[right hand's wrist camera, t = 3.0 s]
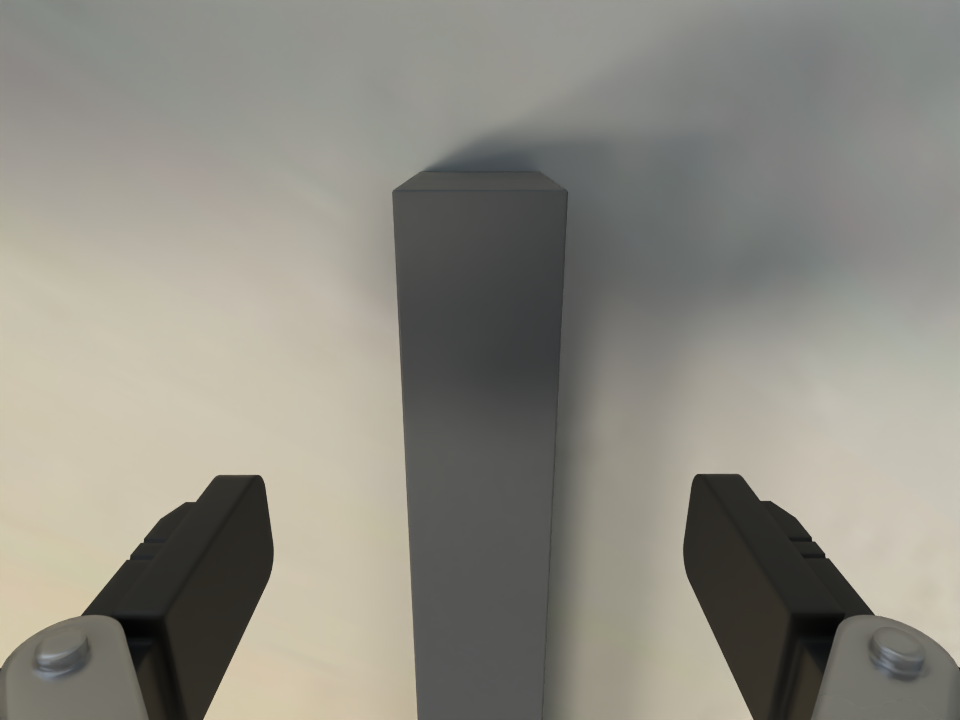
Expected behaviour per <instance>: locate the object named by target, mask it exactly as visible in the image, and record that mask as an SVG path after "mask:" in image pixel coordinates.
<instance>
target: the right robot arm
mask: <svg viewBox="0 0 960 720" xmlns="http://www.w3.org/2000/svg"><path fill="white" fill-rule="evenodd" d="M273 556H274V548H273V539H272V532H271V525H270V518H269V510H268V503H267V496H266V489H265V484H264V481H263V479H262V477H261V476H260V475H218V476H216V477H215V478H214V479H213V480H212V482H211V483H210V484H209V486H208V487H207V488H206V489H205V491H204V492H203V493H202V495H201V496H200V497H199V499H198V500H197V501H196V502H185V503H184V504H182V505H181V506H179V507H178V508H176V509H175V510H173V511H172V512H170V513H169V514H167V515H166V516H164V517H163V518H161V519H160V520H159V521H158V523H157V524H156V525H155V526H154V528H153V529H152V530H151V531H150V532H149V534H148V535H147V536H146V537H145V538H144V543H140V545H139V546H138V547H137V548H136V549H135V551H134V552H133V553H132V554H131V555H130V560H126V562H125V563H124V564H123V565H122V566H121V568H120V569H119V570H118V571H117V572H116V574H115V575H114V576H113V577H112V579H111V580H110V581H109V582H108V583H107V585H106V586H105V587H104V588H103V590H102V591H101V592H100V593H99V594H98V596H97V597H96V598H95V599H94V600H93V602H92V603H91V604H90V605H89V607H88V608H87V609H86V610H85V611H84V613H83V614H82V615H81V616H79V617H75V618H70V619H67V620H64V621H61V622H58V623H56V624H54V625H51V626H49V627H47V628H45V629H43V630H41V631H39V632H38V633H36V634H35V635H33V636H31V637H30V638H28V639H27V640H26V641H25V642H23V643H22V644H21V645H20V646H18V647H17V648H16V649H15V650H14V651H13V652H12V653H11V655H10V656H9V657H8V658H7V659H6V661H5V663H4V664H3V666H2V668H0V720H203V719H204V717H205V714H206V712H207V710H208V708H209V706H210V704H211V702H212V700H213V697H214V695H215V693H216V691H217V689H218V687H219V685H220V683H221V680H222V678H223V676H224V674H225V672H226V670H227V668H228V666H229V663H230V661H231V659H232V657H233V655H234V653H235V651H236V649H237V646H238V644H239V642H240V640H241V638H242V636H243V634H244V632H245V629H246V627H247V625H248V623H249V621H250V619H251V617H252V615H253V612H254V610H255V608H256V606H257V604H258V602H259V600H260V597H261V595H262V593H263V591H264V589H265V587H266V585H267V583H268V580H269V578H270V574H271V570H272V565H273ZM683 556H684V565H685V570H686V574H687V577H688V579H689V582H690V584H691V586H692V588H693V590H694V592H695V595H696V597H697V599H698V601H699V603H700V605H701V608H702V610H703V612H704V614H705V616H706V618H707V620H708V623H709V625H710V627H711V629H712V631H713V633H714V636H715V638H716V640H717V642H718V644H719V646H720V648H721V651H722V653H723V655H724V657H725V659H726V661H727V664H728V666H729V668H730V670H731V672H732V674H733V676H734V679H735V681H736V683H737V685H738V687H739V689H740V691H741V694H742V696H743V698H744V700H745V702H746V704H747V707H748V709H749V711H750V713H751V715H752V717H753V719H754V720H960V668H959V667H958V666H957V664H956V663H955V661H954V659H953V658H952V657H951V656H950V655H949V653H948V652H947V651H946V650H945V649H944V648H943V647H942V646H940V645H939V644H938V643H937V642H935V641H934V640H933V639H932V638H930V637H929V636H927V635H925V634H924V633H922V632H921V631H919V630H917V629H915V628H913V627H911V626H909V625H906V624H904V623H902V622H899V621H896V620H893V619H890V618H885V617H881V616H875V615H874V613H873V612H872V611H871V610H870V608H869V607H868V606H867V605H866V603H865V602H864V601H863V600H862V599H861V597H860V596H859V595H858V594H857V592H856V591H855V590H854V589H853V588H852V586H851V585H850V584H849V583H848V581H847V580H846V579H845V578H844V577H843V575H842V574H841V573H840V572H839V570H838V569H837V568H836V567H835V565H834V564H833V563H832V562H831V561H830V559H829V558H826V557H825V553H824V552H823V551H822V550H821V548H820V547H819V546H818V545H817V543H816V542H812V537H811V536H810V535H809V534H808V532H807V531H806V530H805V529H804V527H803V526H802V525H801V524H800V523H799V521H798V520H797V519H796V518H795V517H794V516H792V515H791V514H789V513H788V512H786V511H785V510H783V509H782V508H780V507H779V506H777V505H776V504H774V503H773V502H771V501H760V500H759V498H758V497H757V496H756V495H755V493H754V492H753V491H752V489H751V488H750V487H749V485H748V484H747V483H746V481H745V480H744V479H743V477H742V476H740V475H739V474H697V475H696V476H695V477H694V479H693V482H692V487H691V494H690V501H689V508H688V515H687V522H686V530H685V537H684V545H683Z"/></svg>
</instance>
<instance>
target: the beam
mask: <svg viewBox="0 0 960 720" xmlns="http://www.w3.org/2000/svg"><path fill="white" fill-rule="evenodd" d="M392 195H393V216H394V236H395V257H396V278H397V299H398V319H399V340H400V361H401V382H402V402H403V423H404V444H405V465H406V486H407V506H408V527H409V548H410V569H411V589H412V610H413V631H414V652H415V672H416V693H417V714H418V720H542V717H543V697H544V676H545V655H546V635H547V614H548V593H549V573H550V552H551V531H552V510H553V490H554V469H555V448H556V428H557V407H558V386H559V366H560V345H561V324H562V303H563V283H564V262H565V241H566V221H567V200H568V192H567V190H566V189H564V188H563V187H561V186H560V185H558V184H557V183H555V182H554V181H553V180H551V179H550V178H548V177H547V176H545V175H544V174H542V173H541V172H419V173H418V174H416V175H415V176H413V177H412V178H411V179H409V180H408V181H406V182H405V183H403V184H402V185H400V186H399V187H398V188H396V189H395V190H393V192H392Z"/></svg>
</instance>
